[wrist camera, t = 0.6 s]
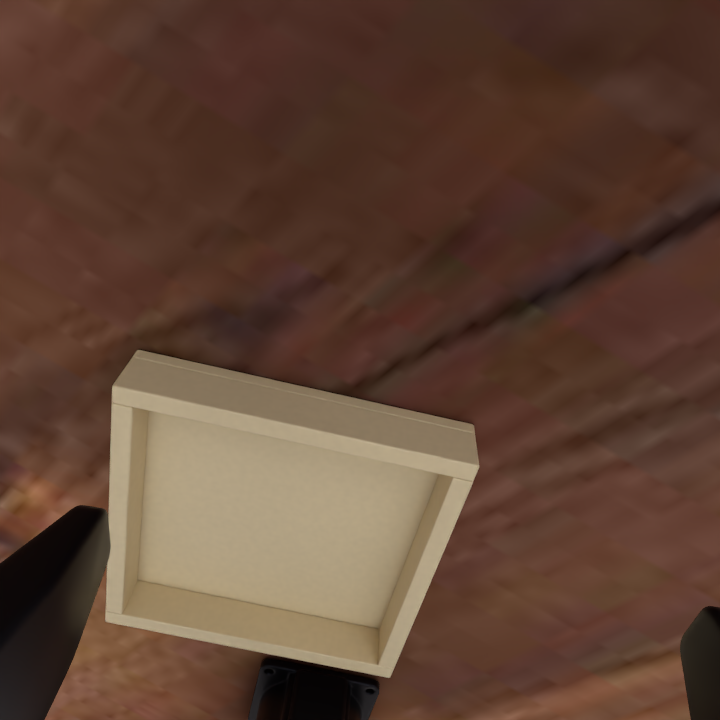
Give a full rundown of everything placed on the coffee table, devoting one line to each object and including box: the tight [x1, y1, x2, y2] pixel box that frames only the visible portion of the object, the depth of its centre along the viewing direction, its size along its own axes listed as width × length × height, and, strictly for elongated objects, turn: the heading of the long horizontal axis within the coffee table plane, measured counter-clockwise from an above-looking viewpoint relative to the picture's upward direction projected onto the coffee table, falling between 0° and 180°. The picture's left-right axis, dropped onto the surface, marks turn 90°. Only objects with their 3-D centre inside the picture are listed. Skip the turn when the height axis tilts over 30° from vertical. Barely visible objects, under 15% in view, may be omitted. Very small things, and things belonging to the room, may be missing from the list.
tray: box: [105, 350, 479, 678], centre depth 28 cm, size 14×14×3 cm
